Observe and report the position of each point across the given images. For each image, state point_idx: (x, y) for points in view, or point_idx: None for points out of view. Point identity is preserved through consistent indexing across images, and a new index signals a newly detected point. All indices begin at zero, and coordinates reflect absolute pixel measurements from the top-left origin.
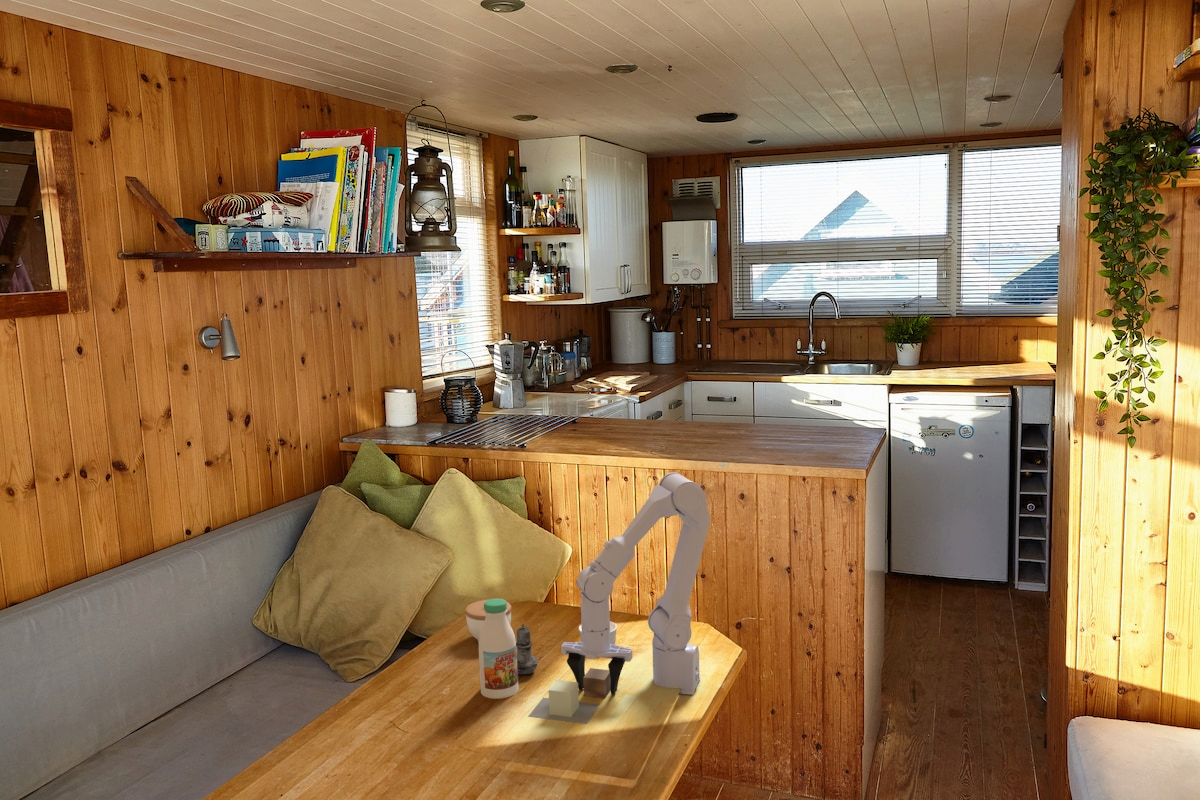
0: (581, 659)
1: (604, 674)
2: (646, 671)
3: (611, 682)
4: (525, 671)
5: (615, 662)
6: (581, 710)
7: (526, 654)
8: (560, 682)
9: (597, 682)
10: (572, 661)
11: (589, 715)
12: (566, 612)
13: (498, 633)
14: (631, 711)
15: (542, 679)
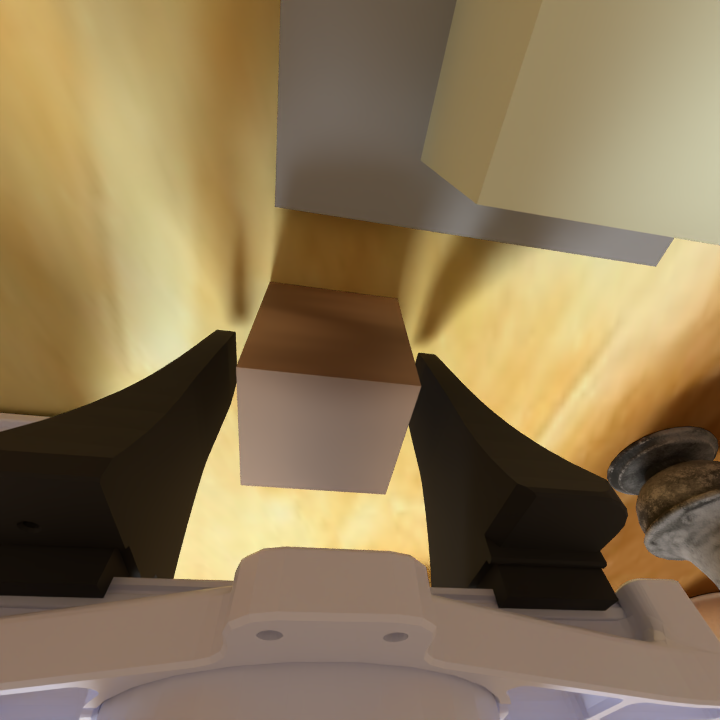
0: (461, 543)
1: (267, 439)
2: (189, 529)
3: (194, 366)
4: (708, 469)
5: (42, 524)
6: (394, 82)
7: None
8: (704, 181)
9: (303, 356)
10: (573, 501)
11: None
12: None
13: None
14: (61, 189)
15: (592, 451)
